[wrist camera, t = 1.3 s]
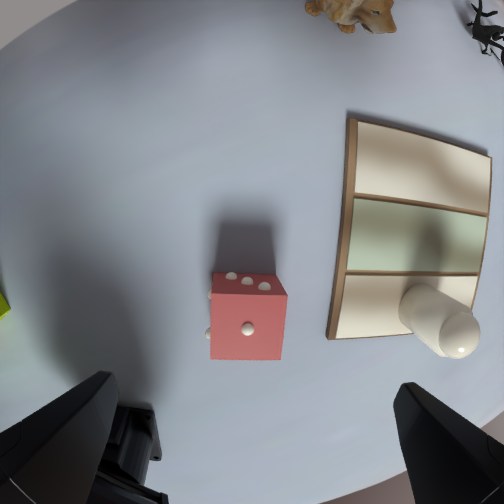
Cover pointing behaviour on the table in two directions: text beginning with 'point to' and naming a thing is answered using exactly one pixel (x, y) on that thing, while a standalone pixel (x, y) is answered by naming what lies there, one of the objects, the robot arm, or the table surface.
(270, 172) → the table surface
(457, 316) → the pawn
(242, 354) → the die
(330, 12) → the lion figurine
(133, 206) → the table surface
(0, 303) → the puzzle toy
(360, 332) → the board
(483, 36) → the creature
